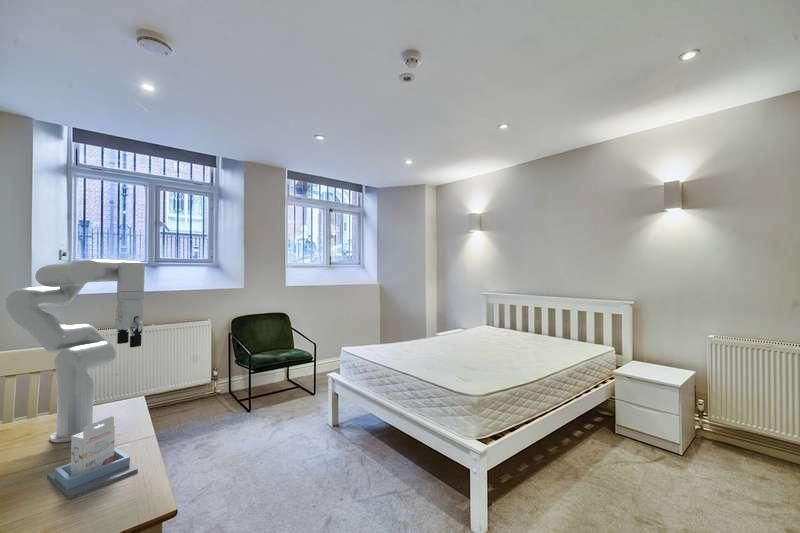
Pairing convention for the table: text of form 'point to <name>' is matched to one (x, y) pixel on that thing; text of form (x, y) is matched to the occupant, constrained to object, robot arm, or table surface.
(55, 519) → the table surface
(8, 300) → the robot arm
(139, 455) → the table surface
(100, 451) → the ink cartridge box
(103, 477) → the dock
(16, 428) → the table surface
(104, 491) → the table surface
